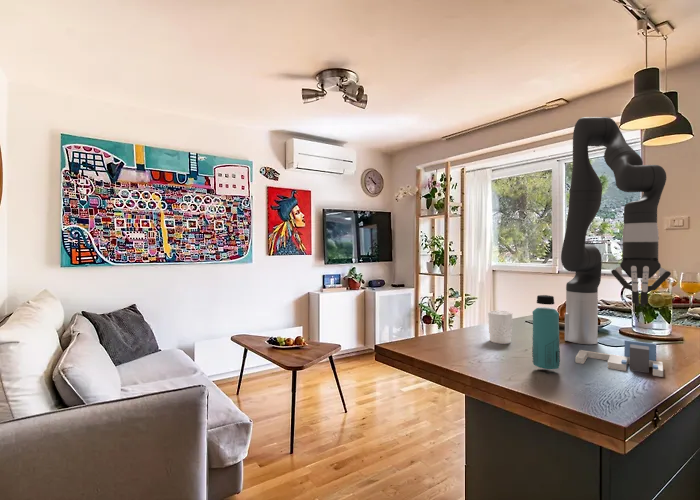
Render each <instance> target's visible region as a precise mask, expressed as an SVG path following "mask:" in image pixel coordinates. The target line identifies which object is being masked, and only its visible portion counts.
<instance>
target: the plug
mask: <svg viewBox="0 0 700 500" xmlns="http://www.w3.org/2000/svg"><path fill="white" fill-rule="evenodd" d="M629 370H630V371H635V372H641V373H645V374H646V373H648V374H650V367H649V347H648V346H640V345H632V344H630V364H629Z"/></svg>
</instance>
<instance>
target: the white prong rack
mask: <svg viewBox="0 0 700 500" xmlns="http://www.w3.org/2000/svg"><path fill="white" fill-rule="evenodd" d="M630 344H632V345H640V346H648V347H649V368H652V376H654V377H660V378H663V377H664V366H663V364H664V363H663V361H658V360H657V343H651V342H645V341H637V340H636V341H635V340H629V339H624V347H623V348H624V356H623V355H617V354H610V353H605V352H604V353H603V352H597V351H589V350H582V349H579V351H578V353H577V354H576V356H575V361H574V362H575V363H577V364H582V365H583V364H585V362H586V360H587V359H588V358H591V359H598V360H603V361H604V360H605V361H607V368H608V369H612V370H618V371H625V372H627V368H628V365H630Z"/></svg>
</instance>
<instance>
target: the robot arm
mask: <svg viewBox="0 0 700 500" xmlns="http://www.w3.org/2000/svg"><path fill="white" fill-rule="evenodd" d="M589 147H604V148H606V149H605V151H604V155H603V158H604V162H605V164H606V165H607V167H609V168H610V170H611V171H612V172H613V175H614V181H615V186H616V187H617V189H618V190H620V191H622V192H623V193H624V192H625V193H643V194H642V196H641V198H640V199H639V200H633V201H629V202H626V204H625V205H624V206H623V230H622V261H621V262H620V264H619V266H618V267H616V268H614V269H611V271H610V273H611V274H612V275H613V276H614V278H615V279H616V280H617V281H618V282H619V284H620V285H621V286H622V287H623V288H624V289H625V290H629V291H631V293H632V294H631V297H632V298H631V302H632V304H635V306H636V307H639V306H640V307H645V305H647V304H648V293H649V292H652V291H656V290H657V289H658V288H659V287H660V286H661V285H662V284H663V283H664V282H665V281H667V279H668V278H669V277H670V276H671V275H672V272H671V271H670V270H666V268H663V267H662V266H661V263H660V261H659V240H660V237H659V228H658V227H659V226H658V207H659V203H660V200H661V196H662V193H663V190H664V188H665V185H666V182H667V172H666V170H665V169H664V168H663V166H661V165H659V164H643V163H644V160H643V158H642V157H641V155H639V154H638V153H637V152H636V151H635V150H634V149H633V148H632V147H631V146H630V145H629V144H628V142H627V141H626V140H625V137H624V135H623V133H622V131H621V130H620V128H619V125H618V124H617V122H616V121H615V120H614V119H613V118H611V117H606V116H600V117H599V116H584V117H580V118H579V119H578V120H576V122H575V124H574V128H573V135H572V170H571V180H570V188H569V197H568V211H567V219H566V220H567V221H566V227H565V232H564V238H563V243H562V247H561V255H560V262H561V265H562V267H563V269H565V270H566V271H567V272H570V273H571V272H572V273H575V275H574V277H573V278H572V279H571V280H569V281H568V282H566V285H565V313H564V341H566V342H570V343H574V344H581V345H596V344H598V339H599V338H598V337H599V334H598V327H599V324H598V323H599V322H598V319H599V318H598V317H599V316H598V314H599V312H598V311H599V310H598V309H599V305H598V300H599V299H598V296H599V292H598V290H599V286H600V284H601V278H602V265H603V264H602V262H603V261H602V254H601V252H600V250H599V248H598V247H597V246H595V245H593V244H586V238H587V233H588V230H589V227H590V226H591V224H592V223H593V221H594V219H595V217H596V216H597V214H598V212H599V210H600V208H601V204H602V203H601V202H602V195H603V184H602V182H601V179H600V178H599V176H598V174H597V172H596V170H595V169H594V167H593V165H592V163H591V161H590V158H589ZM623 272H625V274H627V277H629V278H630V279H631V284H629V282H627V280H626V279H625V278H624V277H623V276H622V275H623ZM657 272H658V276H659V277H657V279H656V280H655V281H654V282H653V283H652V284H651V285H649V279H651V278H652V277H653V276H654V275H655V274H656V273H657ZM639 279H642V281H641V291H639Z"/></svg>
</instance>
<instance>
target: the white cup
mask: <svg viewBox="0 0 700 500" xmlns="http://www.w3.org/2000/svg"><path fill="white" fill-rule="evenodd" d="M487 320H488V321H487V322H488V334H489V341H490V342H491V343H494V344H499V345H500V344H501V345H502V344H503V345H507V344H510V343H512V340H511V339H512V332H513V331H512V329H513V312H512V311H511V312H510V311H505V310H488V312H487Z"/></svg>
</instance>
